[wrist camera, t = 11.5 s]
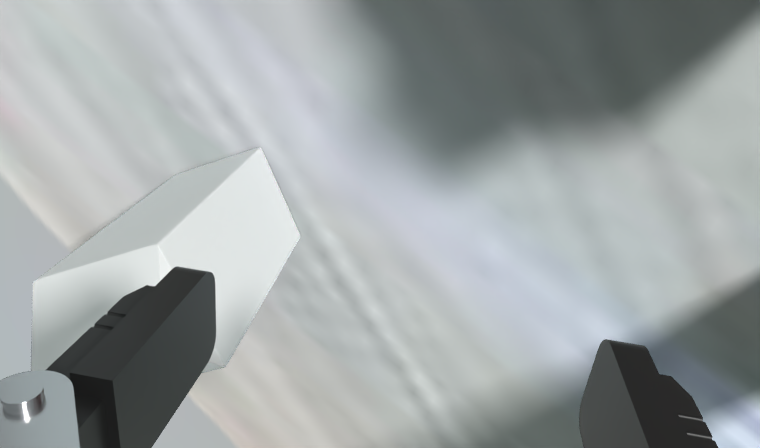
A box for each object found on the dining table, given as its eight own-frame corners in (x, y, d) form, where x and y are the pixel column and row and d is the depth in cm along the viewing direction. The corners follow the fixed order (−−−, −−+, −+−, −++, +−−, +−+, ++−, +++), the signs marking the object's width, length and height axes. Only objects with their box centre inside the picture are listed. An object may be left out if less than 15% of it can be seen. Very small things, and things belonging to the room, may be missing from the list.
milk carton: (174, 174, 41) (-34, 330, 23) (262, 145, 39) (107, 290, 22) (217, 259, 43) (59, 456, 26) (302, 235, 41) (192, 429, 24)
